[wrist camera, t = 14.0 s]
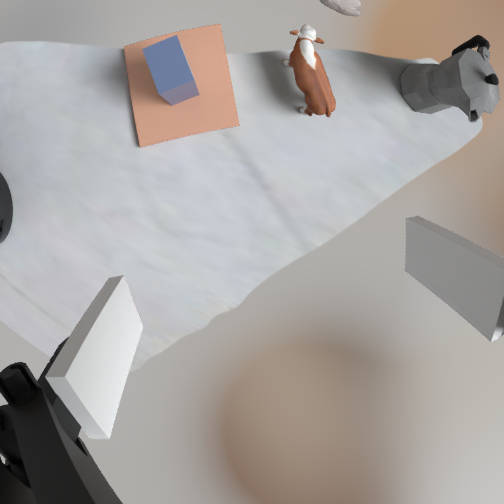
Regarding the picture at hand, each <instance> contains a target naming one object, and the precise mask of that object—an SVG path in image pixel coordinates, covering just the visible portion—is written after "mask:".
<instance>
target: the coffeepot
mask: <svg viewBox="0 0 504 504" xmlns="http://www.w3.org/2000/svg"><path fill="white" fill-rule="evenodd" d="M477 46H478V49H477V52H476V51H474V50H472V48H475V47H477ZM489 46H490V45H489V42H488V41H487V40H486V39H485V38H483V37H482V36H480V35H476V36H474V37H473V38H472V39H470V40H468V41H467V42H465V43H463V44H462V45H460V46H459V47H457V48H456V49H454V50H453V51H452V56H451V57H449V58H447V59H445V60H443V61H442V62H441V63H440V64H439V65H438V64H410V65H409V66H408V67H407V68H406V69H405V70H404V71H403V73H402V74H401V75H400V86H401V91H402V96H403V97H404V99H405V100H406V102H407V103H408V104H409V105H410V106H411V107H412V108H413V109H414V111H415V112H421V113H428V114H432V113H435V112H438V111H441V110H444V109H447V108H450V107H451V106H454V107H458V108H460V109H461V110H462V111H463V112H464V113H465V114H466V115H467V116H468V118H469V121H470V122H476V121H477V120H478V119H479V118H480V116H481V114H482V113H483V112H486V113H492V112H493V110H494V108H495V107H496V105H497V103H498V102H499V100H500V96H499V87H498V83H499V82H498V78H497V75H496V73H495V72H494V70H493V68H492V66H491V65H490V63H489V62H488V60H489V56H490V52H489Z"/></svg>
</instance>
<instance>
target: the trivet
mask: <svg viewBox="0 0 504 504" xmlns="http://www.w3.org/2000/svg"><path fill="white" fill-rule="evenodd" d="M175 35H177V37H178V39H179V42H180V44H181V46H182V48H183V51H184V53H185V56H186V58H187V61H188V64H189V66H190V69H191V71H192V74H193V76H194V79H195V82H196V85H197V88H198V91H199V94H200V95H198V96H195V97H193V98H190V99H188V100H185V101H183V102H180V103H178V104H175V105H173V106H172V105H171V104H170V103H169V102H167V101H166V100H165V99H164V98H163V97H162V96H160V95H159V93H158V91H157V88H156V85H155V83H154V80H153V77H152V75H151V72H150V69H149V66H148V64H147V61H146V58H145V56H144V53H143V50H142V49H144V48H146V47H148V46H150V45H153V44H155V43H158V42H160V41H162V40H165V39H167V38H170V37H172V36H175ZM124 51H125V59H126V66H127V73H128V80H129V87H130V93H131V100H132V106H133V112H134V117H135V123H136V128H137V133H138V139H139V144H140V148H142V147H146V146H149V145H153V144H157V143H161V142H165V141H169V140H173V139H177V138H182V137H186V136H190V135H195V134H199V133H204V132H209V131H214V130H219V129H224V128H230V127H235V126H239V120H238V115H237V109H236V104H235V98H234V93H233V88H232V82H231V77H230V72H229V66H228V61H227V56H226V51H225V45H224V40H223V35H222V30H221V25H220V24H215V25H209V26H204V27H198V28H193V29H189V30H183V31H179V32H175V33H170V34H166V35H162V36H158V37H154V38H151V39H147V40H144V41H140V42H137V43H134V44H130V45H127V46H124Z"/></svg>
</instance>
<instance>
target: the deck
mask: <svg viewBox="0 0 504 504" xmlns="http://www.w3.org/2000/svg"><path fill="white" fill-rule="evenodd" d="M142 50H143V53H144V56H145V58H146V61H147V64H148V66H149V69H150V72H151V75H152V77H153V80H154V83H155V85H156V88H157V91H158V93H159V95H160V96H162V97H163V98H164V99H165V100H166V101H167V102H169V103H170V104H171V105H172V106H173V105H175V104H178V103H180V102H183V101H185V100H188V99H190V98H193V97H195V96H198V95H200V94H199V91H198V88H197V85H196V82H195V79H194V76H193V74H192V71H191V69H190V66H189V64H188V61H187V58H186V56H185V53H184V51H183V48H182V46H181V44H180V42H179V39H178V37H177V35H175V36H172V37H170V38H167V39H165V40H162V41H160V42H158V43H155V44H153V45H150V46H148V47H146V48H144V49H142Z"/></svg>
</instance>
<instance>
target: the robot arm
mask: <svg viewBox="0 0 504 504" xmlns="http://www.w3.org/2000/svg"><path fill="white" fill-rule="evenodd" d="M12 216H13V206H12V198H11V194H10V190H9V187H8V185H7V182H6V180H5V179H4V177H3V175H2V174H1V173H0V243H2V242H3V241H4V240H5V238H6V237H7V235H8V233H9V230H10V227H11V223H12ZM405 271H406V272H407V273H409V274H410V275H411V276H413V277H414V278H415V279H416V280H418V281H419V282H420V283H421V284H423V285H424V286H425V287H427V288H428V289H429V290H430V291H432V292H433V293H434V294H435V295H437V296H438V297H439V298H440V299H441V300H443V301H444V302H445V303H446V304H448V305H449V306H450V307H451V308H452V309H454V310H455V311H456V312H457V313H458V314H460V315H461V316H462V317H463V318H464V319H466V320H467V321H468V322H469V323H470V324H471V325H472V326H474V327H475V328H476V329H477V330H478V331H479V332H480V333H481V334H483V335H484V336H485V337H486V338H487V339H488V340H489V341H490V342H492V341H494V340H496V339H497V338H499V337H501V336H502V335H503V334H504V258H503V257H501V256H499V255H497V254H495V253H493V252H491V251H490V250H488V249H486V248H484V247H482V246H480V245H478V244H476V243H474V242H472V241H470V240H468V239H466V238H464V237H462V236H460V235H458V234H456V233H454V232H452V231H450V230H448V229H446V228H443V227H441V226H439V225H437V224H435V223H432V222H430V221H428V220H426V219H424V218H421V217H419V216H416V217H410V218H406V260H405ZM142 330H143V325H142V322H141V320H140V317H139V315H138V312H137V310H136V307H135V304H134V302H133V299H132V296H131V294H130V291H129V288H128V285H127V282H126V280H125V277H124V275H122V276H117V277H112V278H109V279H108V280H107V282H106V283H105V285H104V286H103V287H102V289H101V290H100V292H99V293H98V294H97V296H96V297H95V299H94V300H93V302H92V303H91V305H90V306H89V308H88V309H87V311H86V312H85V314H84V315H83V317H82V318H81V320H80V321H79V323H78V324H77V326H76V327H75V329H74V330H73V332H72V333H71V335H70V337H68V338H66V339H65V340H64V341H63V342H62V343H61V344H60V345H59V346H58V348H57V349H56V351H55V353H54V355H53V356H52V357H51V359H50V363H48V364H47V366H46V368H45V369H44V371H43V372H42V374H41V376H40V378H39V379H38V381H37V380H36V379H35V378H34V376H33V374H32V373H31V371H30V369H29V368H28V366H27V365H26V363H23V362H17V363H14V364H11V365H9V366H8V367H6V368H5V369H3V370H2V372H0V393H1V394H2V395H3V397H4V398H5V399H6V401H7V402H8V404H7V405H3V406H0V454H2V456H3V457H4V458H5V459H6V460H5V462H6V463H5V464H3V463H2V460H1V458H0V504H122V502H121V501H120V499H119V498H118V497H117V495H116V494H115V492H114V491H113V489H112V488H111V487H110V485H109V484H108V482H107V481H106V479H105V477H104V476H103V474H102V473H101V471H100V470H99V468H98V467H97V465H96V463H95V462H94V460H93V458H92V457H91V455H90V453H89V451H88V450H87V448H86V446H85V444H84V443H83V441H82V440H81V439H80V438H79V437H78V435H79V432H80V429H81V428H82V429H83V430H84V432H85V433H86V434H87V435H88V436H89V438H91V439H110V436H111V432H112V427H113V424H114V421H115V417H116V413H117V410H118V406H119V403H120V399H121V396H122V392H123V389H124V386H125V382H126V379H127V376H128V373H129V369H130V366H131V363H132V360H133V357H134V354H135V351H136V348H137V345H138V342H139V339H140V336H141V333H142Z"/></svg>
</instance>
